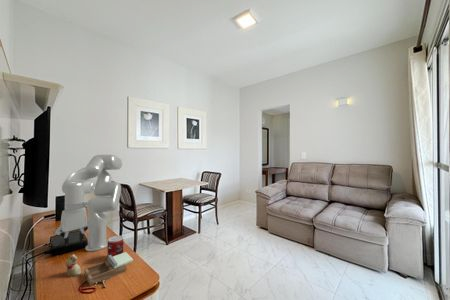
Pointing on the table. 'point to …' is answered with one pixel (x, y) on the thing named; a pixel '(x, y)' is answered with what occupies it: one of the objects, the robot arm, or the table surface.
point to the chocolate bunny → (73, 267)
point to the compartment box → (102, 272)
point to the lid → (119, 259)
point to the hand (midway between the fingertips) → (74, 242)
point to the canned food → (115, 245)
